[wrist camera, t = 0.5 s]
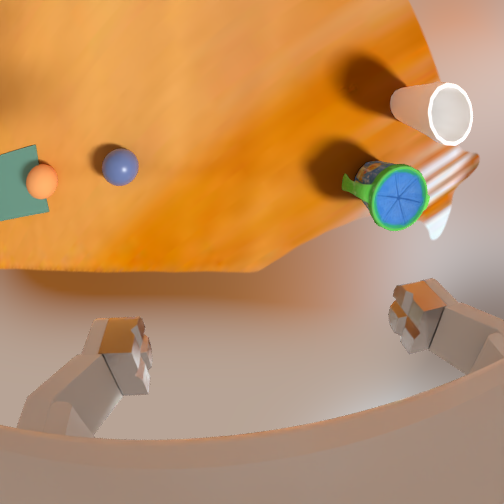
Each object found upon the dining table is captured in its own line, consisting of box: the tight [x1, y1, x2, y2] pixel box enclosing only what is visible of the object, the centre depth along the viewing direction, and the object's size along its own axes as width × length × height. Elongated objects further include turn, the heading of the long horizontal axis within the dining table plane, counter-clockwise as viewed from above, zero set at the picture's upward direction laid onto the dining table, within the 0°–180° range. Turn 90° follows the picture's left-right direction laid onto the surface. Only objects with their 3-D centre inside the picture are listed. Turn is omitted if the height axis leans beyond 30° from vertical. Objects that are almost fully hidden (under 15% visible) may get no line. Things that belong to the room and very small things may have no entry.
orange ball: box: [26, 164, 58, 199], centre depth 43 cm, size 6×6×6 cm
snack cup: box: [342, 161, 430, 231], centre depth 49 cm, size 16×11×10 cm
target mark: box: [0, 145, 49, 221], centre depth 44 cm, size 12×12×1 cm
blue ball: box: [102, 148, 138, 186], centre depth 44 cm, size 6×6×6 cm
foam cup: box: [390, 82, 473, 146], centre depth 42 cm, size 10×9×13 cm
